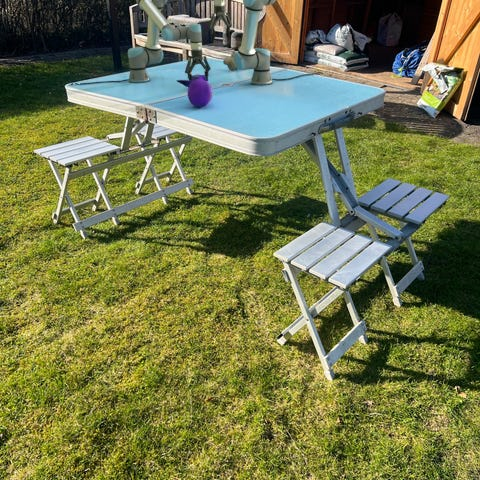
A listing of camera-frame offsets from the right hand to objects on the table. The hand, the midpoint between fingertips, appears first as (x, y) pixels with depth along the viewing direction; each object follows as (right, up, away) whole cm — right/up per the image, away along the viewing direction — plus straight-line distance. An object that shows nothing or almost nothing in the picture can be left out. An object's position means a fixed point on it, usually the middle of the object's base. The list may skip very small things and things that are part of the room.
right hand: (220, 37), depth 331 cm
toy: (-12, -67, -58) cm, 89 cm away
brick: (-14, -44, -18) cm, 50 cm away
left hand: (-14, -40, -21) cm, 47 cm away
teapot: (+10, -9, +40) cm, 42 cm away
